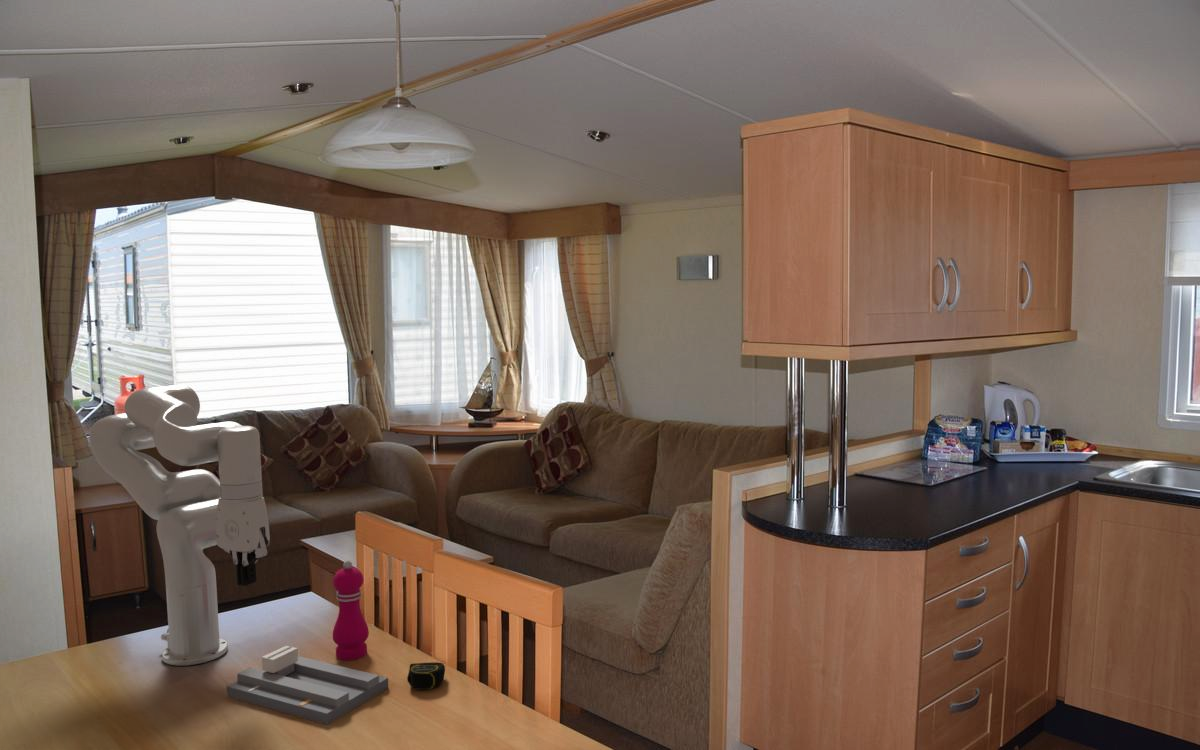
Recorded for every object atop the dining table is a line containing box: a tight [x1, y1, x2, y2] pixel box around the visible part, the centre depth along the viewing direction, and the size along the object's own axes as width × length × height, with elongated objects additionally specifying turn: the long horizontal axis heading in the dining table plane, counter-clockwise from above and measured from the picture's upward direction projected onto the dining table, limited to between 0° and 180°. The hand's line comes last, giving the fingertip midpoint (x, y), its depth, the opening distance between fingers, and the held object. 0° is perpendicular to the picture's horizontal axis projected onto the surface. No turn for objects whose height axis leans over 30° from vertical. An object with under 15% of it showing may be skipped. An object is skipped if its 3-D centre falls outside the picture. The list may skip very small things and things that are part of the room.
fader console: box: [226, 655, 389, 725], centre depth 171 cm, size 25×16×4 cm, turn 63°
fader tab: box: [261, 645, 299, 676], centre depth 174 cm, size 3×6×4 cm, turn 153°
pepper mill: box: [332, 560, 370, 661], centre depth 188 cm, size 7×7×20 cm
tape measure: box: [406, 661, 446, 690], centre depth 173 cm, size 7×7×4 cm
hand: (246, 583), depth 176 cm, fingers closed
